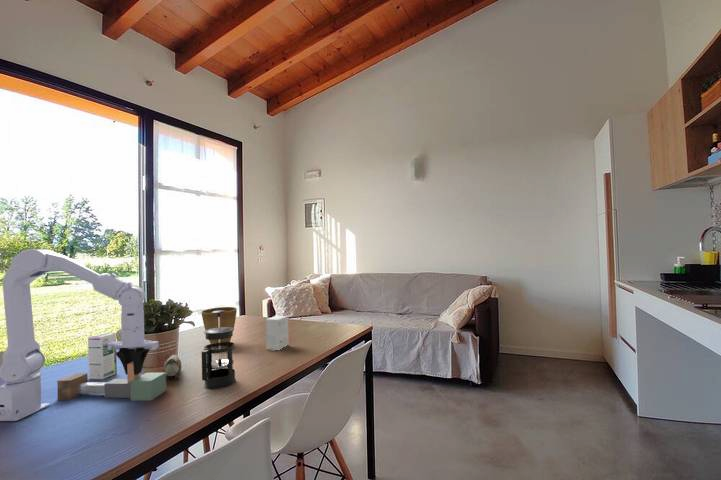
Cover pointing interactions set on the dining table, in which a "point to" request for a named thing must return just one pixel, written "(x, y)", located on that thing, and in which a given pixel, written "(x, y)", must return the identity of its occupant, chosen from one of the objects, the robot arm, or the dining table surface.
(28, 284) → the robot arm
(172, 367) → the decorative bird
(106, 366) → the syrup box
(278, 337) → the small box
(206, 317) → the plant pot
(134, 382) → the socket block
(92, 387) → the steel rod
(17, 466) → the dining table surface
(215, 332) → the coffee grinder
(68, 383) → the brown wooden block
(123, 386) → the stand with post
